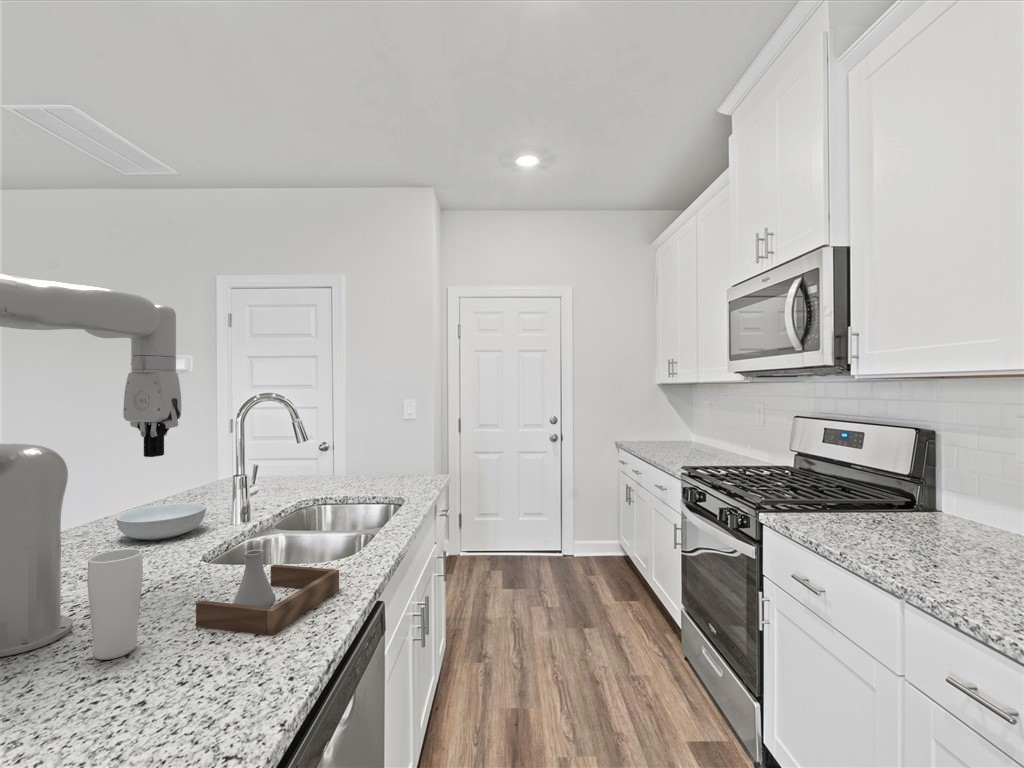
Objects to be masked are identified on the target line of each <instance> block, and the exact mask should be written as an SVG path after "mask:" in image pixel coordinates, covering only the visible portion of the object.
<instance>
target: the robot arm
mask: <svg viewBox="0 0 1024 768" xmlns="http://www.w3.org/2000/svg"><path fill="white" fill-rule="evenodd" d="M0 327H1V328H9V329H17V330H33V331H36V330H37V331H50V330H54V331H55V330H84V331H85V332H87V333H88V334H89V335H92V336H94V337H97V338H101V339H123V338H124V339H125V338H127V339H130V340H131V341H130V343H131V344H130V345H131V347H130V348H131V351H130V352H131V353H130V358H131V359H130V368H131V369H130V371H131V372H128V374H127V378H126V383H125V387H124V395H123V396H124V397H123V411H122V413H123V419H124V420H125V421H126V422H130V423H129V424H130V427H133V428H135V429H138V430H139V431H140V436H141V437H142V438H143V457H145V458H155V457H156V458H157V457H162V456H164V455H165V437H166V436H167V435H168V432H169V430H170V429H172V428H176V427H179V421H178V420H180V418H181V416H182V393H181V385H180V384H181V383H180V379H179V375H178V372H177V314H176V311H175V310H174V308H173V307H171V306H167V305H163V304H154V303H153V302H152V301H151V300H149V299H147V298H146V297H143V296H141V295H136V294H132V293H128V292H124V291H123V292H122V291H119V290H114V289H109V288H103V287H102V288H101V287H97V286H88V285H81V284H76V283H75V284H74V283H73V284H72V283H67V282H59V281H54V280H48V279H40V278H32V277H26V276H21V275H17V274H10V273H5V272H0ZM68 470H69V469H68V465H67V463H66V461H65V459H64V458H63V457H62V456H61V455H60V454H59V453H58V452H56V451H55V450H53V449H51V448H48V447H46V446H42V445H36V444H27V443H26V444H25V443H0V658H3V657H8V656H12V655H17V654H22V653H26V652H29V651H32V650H33V651H34V650H35V649H39V648H41V647H43V646H46V645H49V644H51V643H54V642H56V641H58V640H60V639H61V638H63V637H64V636H66V635H67V634H69V633H70V632H71V630H72V629H73V619H72V618H70V617H68V616H64V615H63V616H62V615H61V614H62V613H61V610H62V609H61V606H62V604H61V602H62V601H61V600H62V599H61V596H62V594H61V591H62V590H61V587H62V585H61V584H62V580H61V579H62V576H61V575H62V574H61V573H62V564H61V563H62V562H61V561H62V560H61V559H62V558H61V557H62V556H61V555H62V552H61V551H62V537H61V533H62V532H61V530H62V529H61V528H62V527H61V526H62V510H63V509H62V508H63V504H64V503H63V502H64V498H65V493H66V489H67V486H68V479H69V471H68Z"/></svg>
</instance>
